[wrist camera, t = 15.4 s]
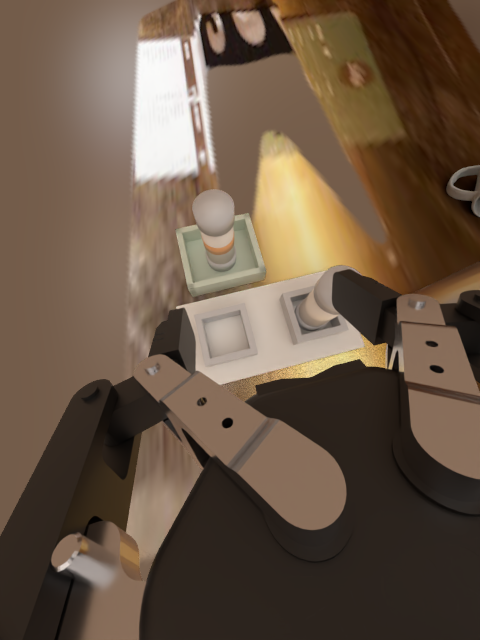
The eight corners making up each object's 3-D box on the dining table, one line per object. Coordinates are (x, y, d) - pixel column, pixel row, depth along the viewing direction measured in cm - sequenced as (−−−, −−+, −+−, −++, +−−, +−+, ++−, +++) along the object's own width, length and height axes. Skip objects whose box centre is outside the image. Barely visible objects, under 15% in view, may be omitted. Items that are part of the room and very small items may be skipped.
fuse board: (332, 271, 35) (342, 259, 31) (361, 347, 32) (375, 344, 29) (177, 308, 33) (170, 301, 30) (194, 391, 31) (188, 393, 27)
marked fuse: (232, 242, 35) (228, 185, 25) (239, 268, 34) (238, 219, 24) (204, 249, 35) (188, 194, 24) (210, 274, 34) (197, 229, 23)
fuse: (319, 297, 33) (357, 260, 22) (329, 326, 32) (374, 302, 21) (289, 305, 32) (313, 271, 22) (299, 334, 32) (329, 314, 21)
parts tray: (248, 226, 37) (248, 212, 34) (264, 280, 34) (266, 271, 31) (180, 241, 36) (175, 229, 33) (192, 297, 34) (188, 289, 31)
